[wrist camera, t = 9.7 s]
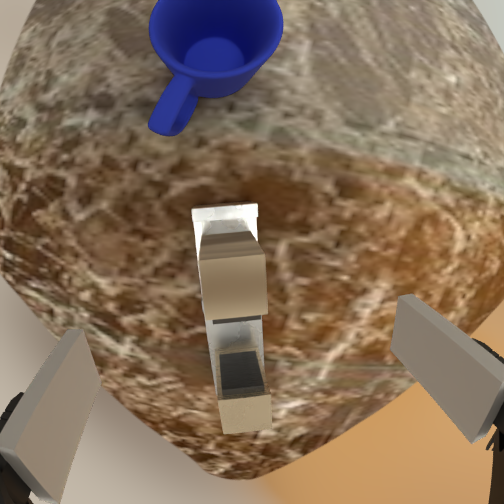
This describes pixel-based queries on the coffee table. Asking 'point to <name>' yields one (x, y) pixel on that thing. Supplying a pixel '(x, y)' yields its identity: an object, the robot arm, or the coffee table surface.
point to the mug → (209, 51)
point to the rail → (235, 335)
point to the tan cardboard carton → (232, 277)
